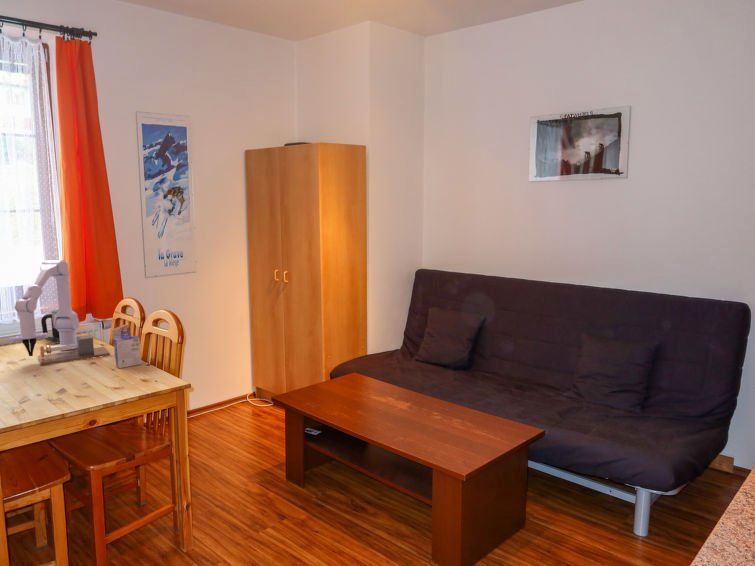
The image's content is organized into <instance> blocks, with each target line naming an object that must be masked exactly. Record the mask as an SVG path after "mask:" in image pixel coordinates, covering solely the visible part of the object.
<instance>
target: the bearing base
mask: <svg viewBox="0 0 755 566" xmlns="http://www.w3.org/2000/svg"><path fill="white" fill-rule="evenodd" d="M93 338H94V337H93V336H92V335H91V334H86V335H78V336H76V339H77V343H78V347H79V348H77V349H76V350H71V351H70V350H68V351H64V352H63V351H62V352H56V353H50V354H44V357H41V355H37V359H38V362H39V365H40V366H46V365H53V364H55V365H56V364H62V363H66V362H73V361H74V360H75V361H82V360H88V359H87V358H89V359H94V358H93V357H96V358H101V357H100V356H103V357H108V355H109V356H110V355H111V354H110V351H109V350H107V348H106V347H105V346H100V347H99V346H98V347H94V339H93ZM81 359H82V360H81ZM75 361H74V362H75Z"/></svg>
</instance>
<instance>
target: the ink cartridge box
mask: <svg viewBox="0 0 755 566" xmlns="http://www.w3.org/2000/svg"><path fill="white" fill-rule="evenodd" d="M123 334H128V335H126V336H123ZM130 334H131V332H130V333H129V332H124V333H121V338H119V339H113V338H112V341H113V340H114V342H113V348H114V349H115V352H114V361H115V360H116V362H115V366H116V368H117V369H122V368H128V367H133V366H134V367H135V366H138V365H142V356H141V355H142V354H141V345H140V344H141V343H140V342H141V341H140V336H137V335H132V336H130ZM114 349H113V350H114Z"/></svg>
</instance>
